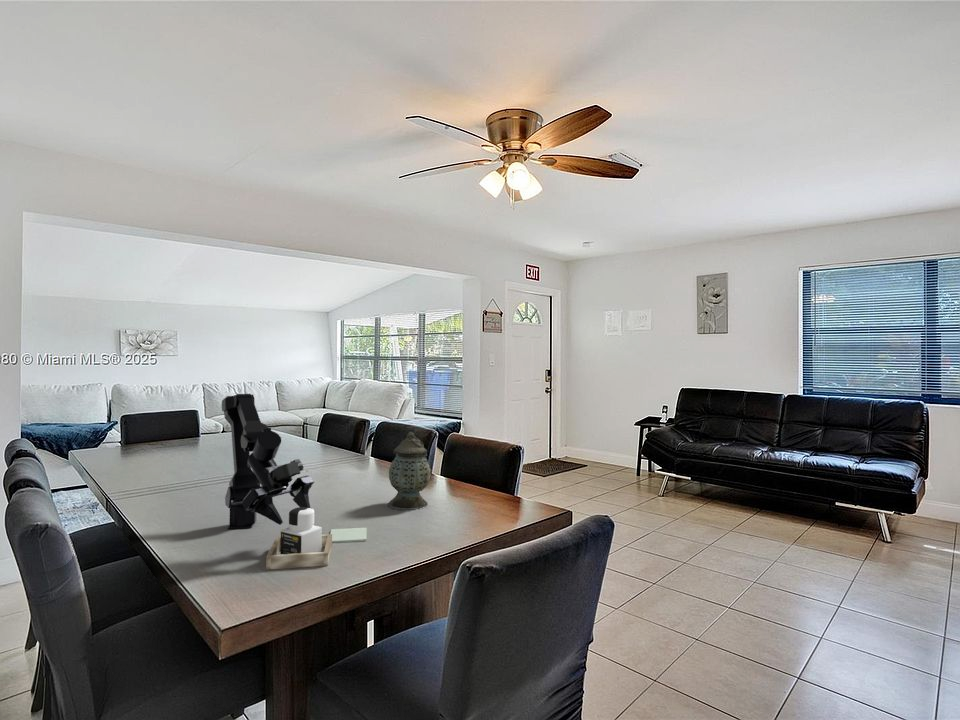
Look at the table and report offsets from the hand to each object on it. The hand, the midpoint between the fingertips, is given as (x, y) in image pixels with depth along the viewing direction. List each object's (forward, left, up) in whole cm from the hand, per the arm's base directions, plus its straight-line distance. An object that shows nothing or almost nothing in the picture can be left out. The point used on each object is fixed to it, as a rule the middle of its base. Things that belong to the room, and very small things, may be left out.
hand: (296, 518), depth 134 cm
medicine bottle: (+2, -1, -9) cm, 10 cm away
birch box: (+2, -1, -9) cm, 9 cm away
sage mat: (+13, +13, -9) cm, 20 cm away
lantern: (+32, +42, -9) cm, 53 cm away
